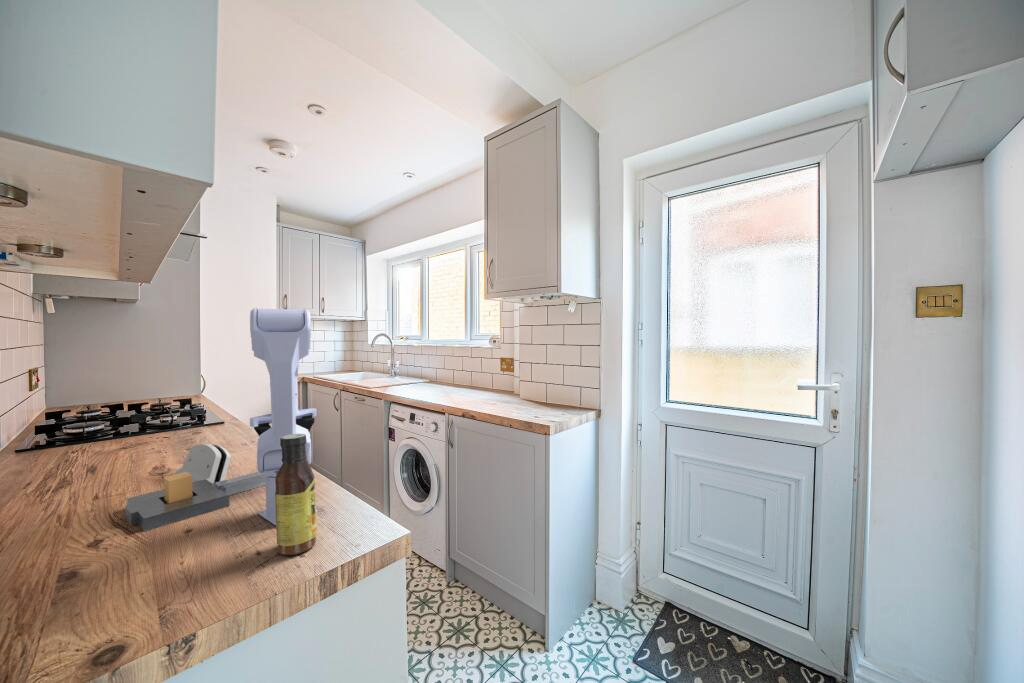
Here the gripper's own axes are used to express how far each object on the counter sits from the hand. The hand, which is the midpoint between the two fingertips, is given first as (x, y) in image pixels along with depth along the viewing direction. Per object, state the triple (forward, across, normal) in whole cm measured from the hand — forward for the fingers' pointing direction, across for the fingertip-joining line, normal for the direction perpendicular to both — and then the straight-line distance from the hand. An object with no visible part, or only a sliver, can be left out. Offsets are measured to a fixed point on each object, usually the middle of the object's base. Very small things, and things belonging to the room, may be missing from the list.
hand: (285, 450), depth 97 cm
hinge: (+10, +10, -25) cm, 29 cm away
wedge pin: (+9, +19, -8) cm, 23 cm away
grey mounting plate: (+9, +13, -8) cm, 18 cm away
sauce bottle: (+10, +11, +30) cm, 33 cm away
